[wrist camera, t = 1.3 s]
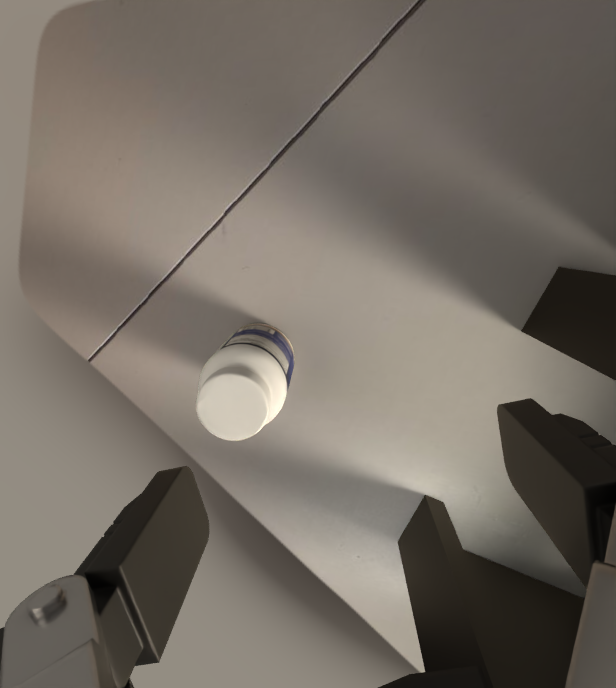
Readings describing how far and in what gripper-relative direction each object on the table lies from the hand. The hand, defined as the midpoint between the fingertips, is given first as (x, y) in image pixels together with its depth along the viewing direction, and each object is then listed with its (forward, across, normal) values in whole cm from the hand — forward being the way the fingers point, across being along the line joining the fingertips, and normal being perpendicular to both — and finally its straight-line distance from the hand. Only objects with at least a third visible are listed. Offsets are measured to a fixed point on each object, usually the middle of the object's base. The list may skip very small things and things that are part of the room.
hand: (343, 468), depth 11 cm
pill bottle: (+21, +6, +2) cm, 22 cm away
